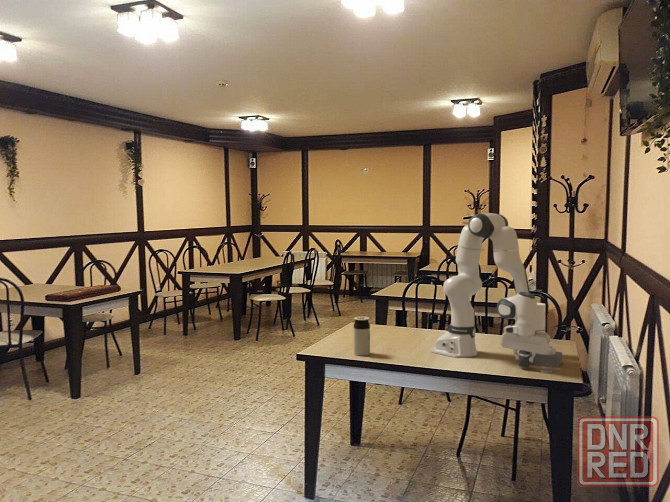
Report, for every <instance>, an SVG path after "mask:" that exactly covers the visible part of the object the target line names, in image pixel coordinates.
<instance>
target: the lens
mask: <svg viewBox="0 0 670 502" xmlns="http://www.w3.org/2000/svg"><path fill="white" fill-rule="evenodd" d="M518 355H519V360H518V366H519V367H521V368H530V365H531V364H530V362H529V358H530V352H527V351H521V350H518Z"/></svg>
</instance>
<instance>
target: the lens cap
mask: <svg viewBox="0 0 670 502" xmlns="http://www.w3.org/2000/svg"><path fill="white" fill-rule="evenodd" d="M539 372H540V373H543V374H552V373H553V370H552V369H550V368H546V367H545V368H543V367H542V368H539Z"/></svg>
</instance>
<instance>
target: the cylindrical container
mask: <svg viewBox="0 0 670 502" xmlns="http://www.w3.org/2000/svg"><path fill="white" fill-rule="evenodd" d="M546 310H547V309H546V303H542V302H537V315H536V323H537V324H536V331H539V332H546ZM542 335H543V334H542Z"/></svg>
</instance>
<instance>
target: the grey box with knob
mask: <svg viewBox="0 0 670 502" xmlns="http://www.w3.org/2000/svg"><path fill="white" fill-rule="evenodd" d="M532 356H533V355H532V352H530V357H532ZM562 363H563V352H562V351H557V348H556V346H553V345H550V351H549V353H548V354H540V353H536V355H535V357H534V359H533V362H530V365H537V366H544V367H550V368H557V369H558V368H559V367H560V366H561V364H562Z"/></svg>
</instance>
